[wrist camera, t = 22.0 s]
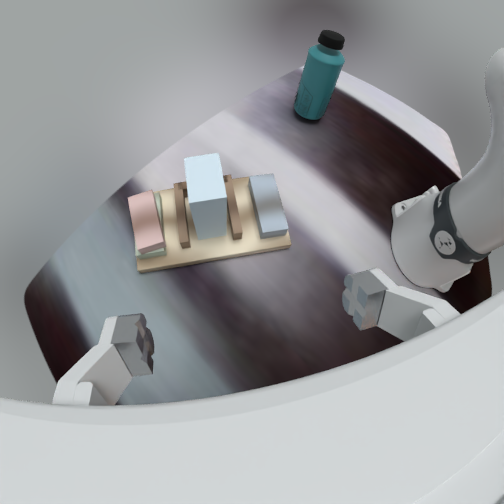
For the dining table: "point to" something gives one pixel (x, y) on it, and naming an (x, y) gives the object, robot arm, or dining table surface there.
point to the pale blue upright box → (207, 195)
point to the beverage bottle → (320, 75)
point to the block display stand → (184, 233)
